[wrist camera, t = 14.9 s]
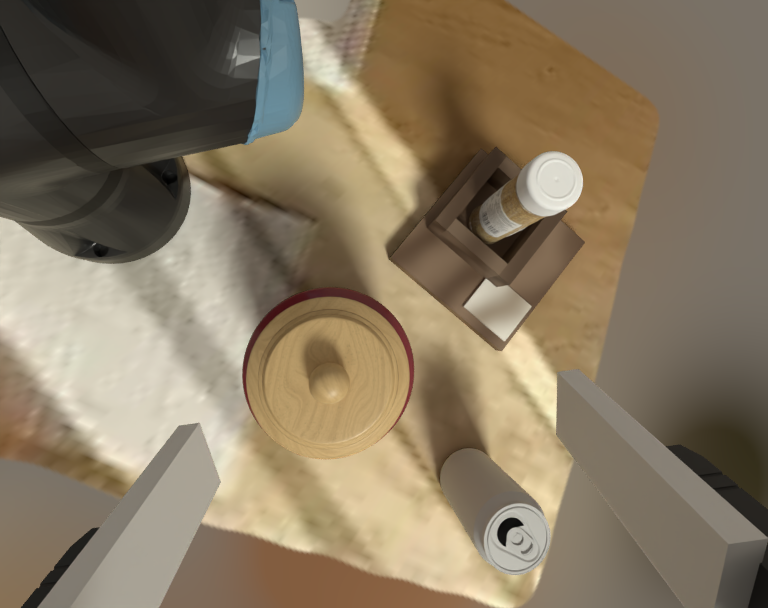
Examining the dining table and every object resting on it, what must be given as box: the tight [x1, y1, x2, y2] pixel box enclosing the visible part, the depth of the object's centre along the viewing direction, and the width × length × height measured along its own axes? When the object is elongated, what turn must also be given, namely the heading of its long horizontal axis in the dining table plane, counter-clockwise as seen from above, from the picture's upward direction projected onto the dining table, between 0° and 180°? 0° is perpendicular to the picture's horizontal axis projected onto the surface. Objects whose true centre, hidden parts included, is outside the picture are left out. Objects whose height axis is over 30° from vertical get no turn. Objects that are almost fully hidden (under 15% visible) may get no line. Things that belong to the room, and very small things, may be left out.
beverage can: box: [440, 448, 550, 575], centre depth 35 cm, size 6×6×12 cm
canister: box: [242, 287, 414, 459], centre depth 31 cm, size 13×13×18 cm
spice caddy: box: [389, 147, 585, 351], centre depth 39 cm, size 16×16×5 cm
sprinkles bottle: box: [469, 151, 583, 244], centre depth 34 cm, size 5×5×13 cm
